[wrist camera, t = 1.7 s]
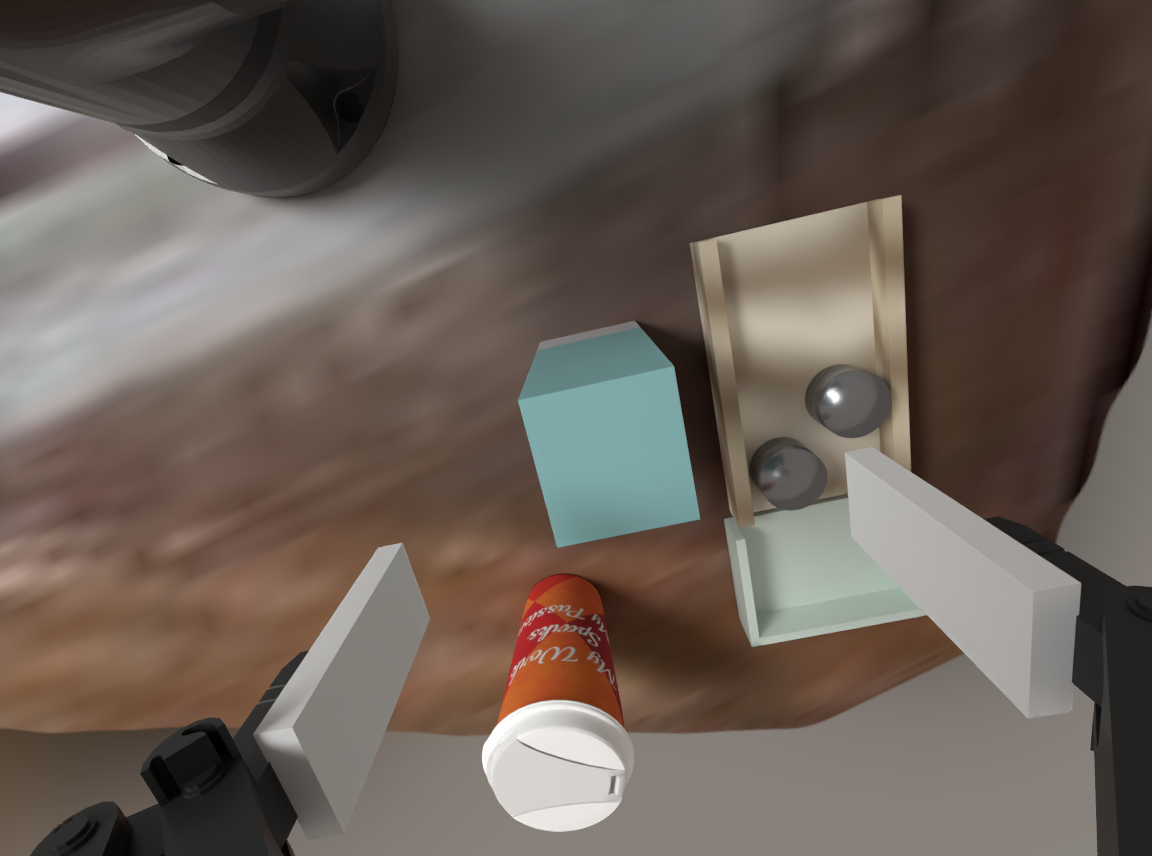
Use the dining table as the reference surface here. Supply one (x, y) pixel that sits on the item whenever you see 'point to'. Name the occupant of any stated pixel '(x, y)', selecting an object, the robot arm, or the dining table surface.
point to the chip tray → (808, 575)
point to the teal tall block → (607, 435)
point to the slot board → (802, 335)
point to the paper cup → (560, 714)
